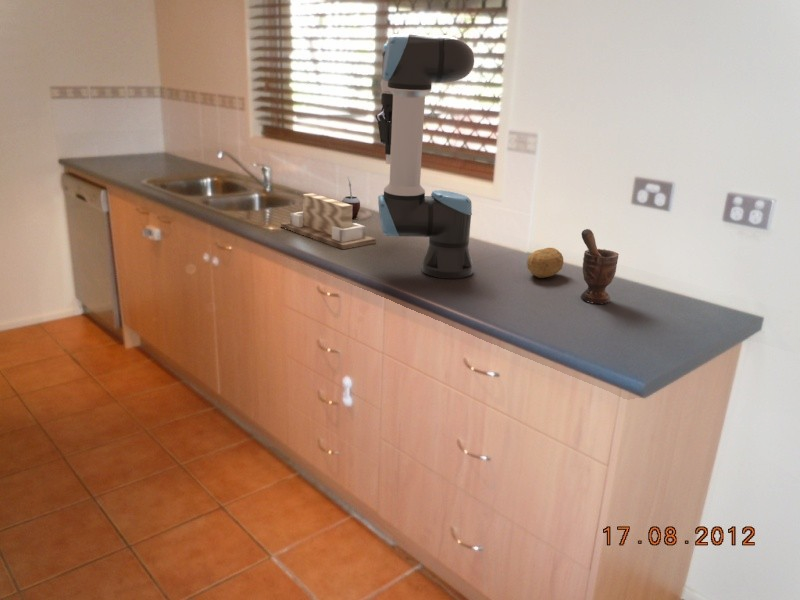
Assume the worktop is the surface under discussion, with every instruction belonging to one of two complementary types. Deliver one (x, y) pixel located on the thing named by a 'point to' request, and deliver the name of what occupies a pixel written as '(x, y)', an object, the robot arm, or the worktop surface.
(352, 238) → the end caps
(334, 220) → the slat
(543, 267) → the potato
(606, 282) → the mortar and pestle
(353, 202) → the mate gourd
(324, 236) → the walnut board
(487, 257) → the worktop surface
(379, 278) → the worktop surface
